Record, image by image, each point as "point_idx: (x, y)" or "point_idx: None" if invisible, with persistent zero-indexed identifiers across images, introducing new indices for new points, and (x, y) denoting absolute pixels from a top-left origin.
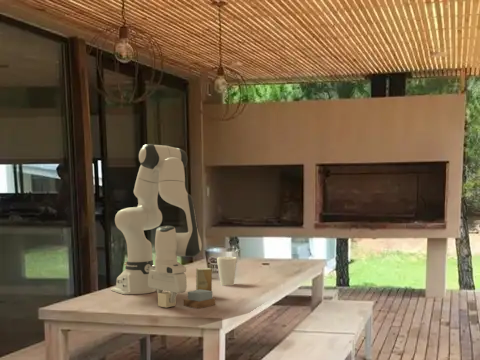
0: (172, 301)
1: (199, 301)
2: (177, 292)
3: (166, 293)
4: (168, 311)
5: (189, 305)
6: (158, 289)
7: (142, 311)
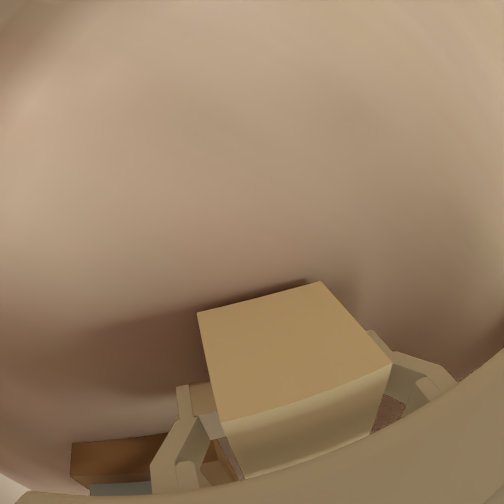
0: (180, 401)
1: (89, 483)
2: (36, 494)
3: (298, 436)
4: (59, 274)
5: (151, 442)
6: (434, 399)
7: (250, 48)
